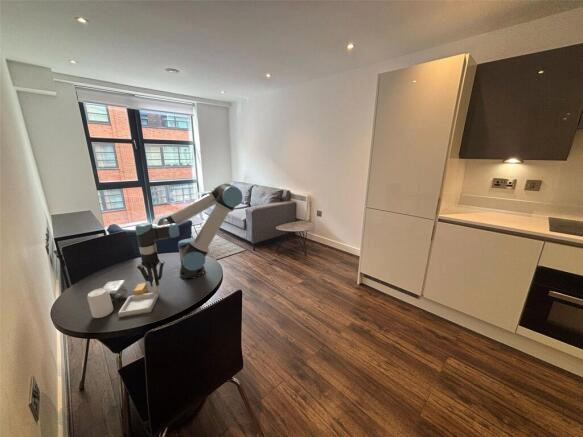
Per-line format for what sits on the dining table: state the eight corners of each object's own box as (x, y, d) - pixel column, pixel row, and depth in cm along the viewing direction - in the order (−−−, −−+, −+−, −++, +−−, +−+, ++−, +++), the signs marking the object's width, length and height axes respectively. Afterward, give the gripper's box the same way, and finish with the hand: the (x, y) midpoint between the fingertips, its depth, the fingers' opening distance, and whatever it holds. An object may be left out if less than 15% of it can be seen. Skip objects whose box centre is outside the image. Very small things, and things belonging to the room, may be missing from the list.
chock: (148, 290, 132) (146, 282, 130) (144, 297, 125) (142, 289, 124) (140, 291, 131) (138, 283, 129) (135, 299, 124) (133, 290, 123)
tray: (158, 296, 126) (157, 291, 126) (151, 312, 114) (150, 307, 113) (130, 300, 123) (129, 296, 122) (119, 317, 111) (118, 312, 110)
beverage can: (117, 307, 117) (112, 287, 114) (105, 318, 110) (99, 297, 106) (101, 308, 117) (95, 287, 114) (88, 319, 109) (81, 297, 106)
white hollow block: (131, 292, 130) (127, 279, 127) (123, 303, 120) (120, 289, 118) (111, 295, 127) (107, 282, 125) (102, 306, 118) (98, 292, 116)
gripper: (164, 247, 127) (170, 285, 134) (137, 250, 124) (145, 289, 130) (160, 253, 120) (167, 292, 127) (132, 256, 117) (140, 296, 123)
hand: (156, 290), depth 129 cm, fingers closed
